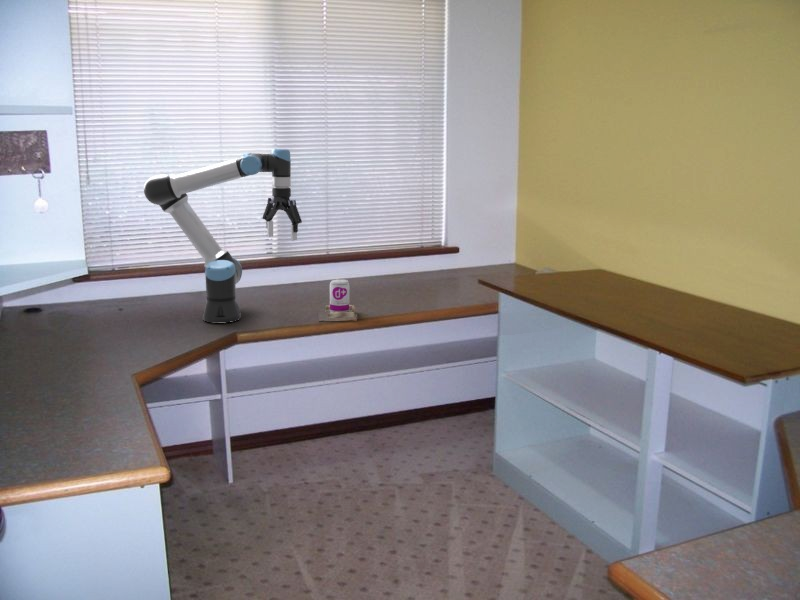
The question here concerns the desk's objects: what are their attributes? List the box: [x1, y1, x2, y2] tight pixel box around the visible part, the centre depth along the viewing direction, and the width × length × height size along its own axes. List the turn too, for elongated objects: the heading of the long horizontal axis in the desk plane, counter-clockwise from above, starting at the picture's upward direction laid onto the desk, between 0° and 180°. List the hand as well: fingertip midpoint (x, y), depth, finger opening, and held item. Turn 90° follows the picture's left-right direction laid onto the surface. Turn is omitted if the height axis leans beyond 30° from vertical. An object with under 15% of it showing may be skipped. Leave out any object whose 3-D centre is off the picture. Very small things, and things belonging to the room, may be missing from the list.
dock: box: [324, 304, 358, 318], centre depth 315 cm, size 16×15×3 cm
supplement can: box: [329, 278, 351, 313], centre depth 314 cm, size 8×8×15 cm
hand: (282, 238), depth 315 cm, fingers open, 13 cm apart
